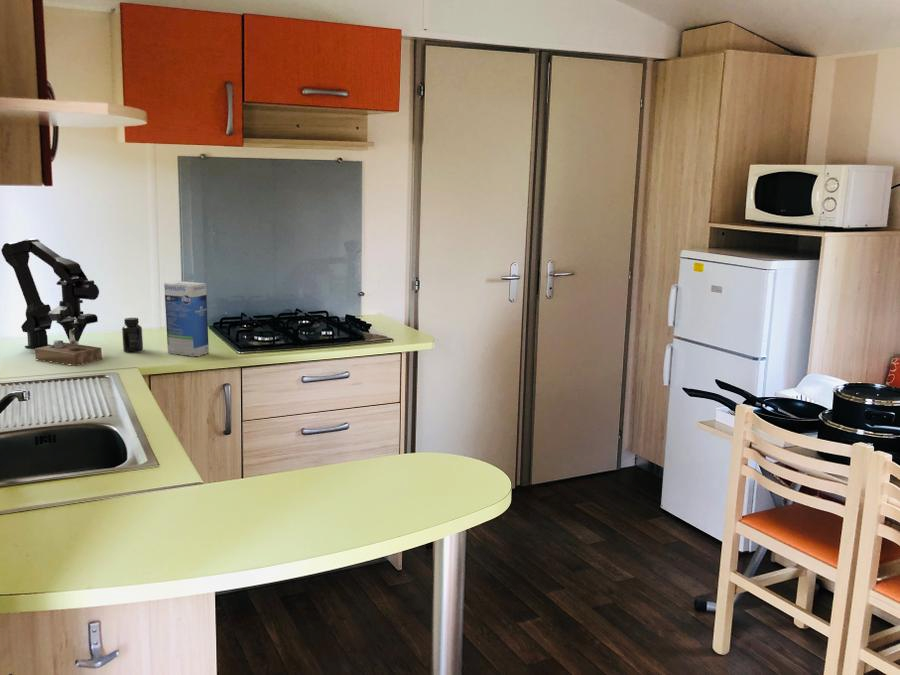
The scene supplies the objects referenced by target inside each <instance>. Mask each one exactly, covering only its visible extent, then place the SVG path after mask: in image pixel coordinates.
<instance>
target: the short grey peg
mask: <svg viewBox="0 0 900 675" xmlns="http://www.w3.org/2000/svg"><path fill="white" fill-rule="evenodd" d="M63 342H64V340H60V339H59V340H54V341H53V345H54V348H57V349H59V348H63Z"/></svg>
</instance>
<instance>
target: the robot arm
mask: <svg viewBox="0 0 900 675" xmlns="http://www.w3.org/2000/svg"><path fill="white" fill-rule="evenodd" d="M0 250H1V254H2V256H3V259H4V260H5V262H6V263H7V264H8V265H9V266H10V267H12V268H13V270H14V271H13V272H14V274H15V277H16V278H17V281H18V284H19V288H20V290H21V292H22V296H23V298H24V301H25V303H26V310H25V318H26V320H25V321H24V322H23V323H22V324H21V326H20V327H21V330H22V332H23V333H27V345H24V348H28V349H34V350H35V349H36V348H40V347H45V346H49V345H51V344H49V342H48V341H49V340H48V334H47V330H50V329H51V327H52V323H53V322H56V323H57V324H59V325H60V326H62V328H63V330H64V331H65V334H66V337H67V339H68V340H69V330H70V329H74V333H75V339H76V341H80V339H81V336H82V335H83V332H84V330H85V328H86V327H87V325H90V324H93V323H94V324H95V323H98V322H99V320H98V315H97V314H94V313H84V311H83V310H81V304H83V303H84V302H83V301H84V300H90V301H94V300H96V299H97V298H98V297H99V295H100V289H99V287H98V285H97V284H96V283H95V280H89V279H88V277H87V276H86V274H85V272H84V271H83V269H82V267H81V265H80V264H79V262H77V261H74V260H72V259H70V258H65V257H62V256H60V255H59V254H58V253H57V252H55V251H54V250H52V249H51V248H49V247H48V246H46V245H45V244H44V243H42V242H41V240H40V239H37V238H27V239H24V240H22V241H16V242H15V241H14V242H7V243H6V242H5V243H4V244H3V246H2V248H1V249H0ZM30 253H31V254H33V255H34V256H35V257H37V258H39V259H40V260H41V261H43V262H44V263H45V264H47V265H48V266H50V267H51V268H52V269H53V273H54V274H55V275H56V276H58V278H59V280H58V281H57V282H56V285H57V286H61V297H62V300H59V305H58V306H56V307H55V308H53V309H52V308H51V306H50V304H48V303H47V304H45V303H44V302H43V301H42V299H41V297H40V293H39V291H38V289H37V285H36V283H35V280H34V278H33V275H32V272H31V269H30V266H29V260H30Z"/></svg>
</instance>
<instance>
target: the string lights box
mask: <svg viewBox="0 0 900 675" xmlns="http://www.w3.org/2000/svg"><path fill="white" fill-rule="evenodd" d="M163 286H164V287H163V289H164V305H165V306H164V307H165V322H166V323H165V324H166V338H167V340H166V341H167V354H168V353H173V354H172V355H176V354H180V355H179V356H184V355H189V356H188V357H193V356H198V357H201V356H204V355H207V353H208V354H210V348H209V345H210V344H209V326H208V325H209V324H208V305H207V304H208V302H207V283H206V282H195V281H194V282H192V281H181V280H175V281H171V282H166V283H165V282H164V283H163ZM203 354H204V355H203ZM200 355H201V356H200Z"/></svg>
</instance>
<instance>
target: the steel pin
mask: <svg viewBox="0 0 900 675" xmlns="http://www.w3.org/2000/svg"><path fill="white" fill-rule="evenodd" d="M79 341H80V340H79ZM79 341H76V339H75V333H74V329H70V330H69V339H68V343H71V344H78V345H80V343H79Z"/></svg>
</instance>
